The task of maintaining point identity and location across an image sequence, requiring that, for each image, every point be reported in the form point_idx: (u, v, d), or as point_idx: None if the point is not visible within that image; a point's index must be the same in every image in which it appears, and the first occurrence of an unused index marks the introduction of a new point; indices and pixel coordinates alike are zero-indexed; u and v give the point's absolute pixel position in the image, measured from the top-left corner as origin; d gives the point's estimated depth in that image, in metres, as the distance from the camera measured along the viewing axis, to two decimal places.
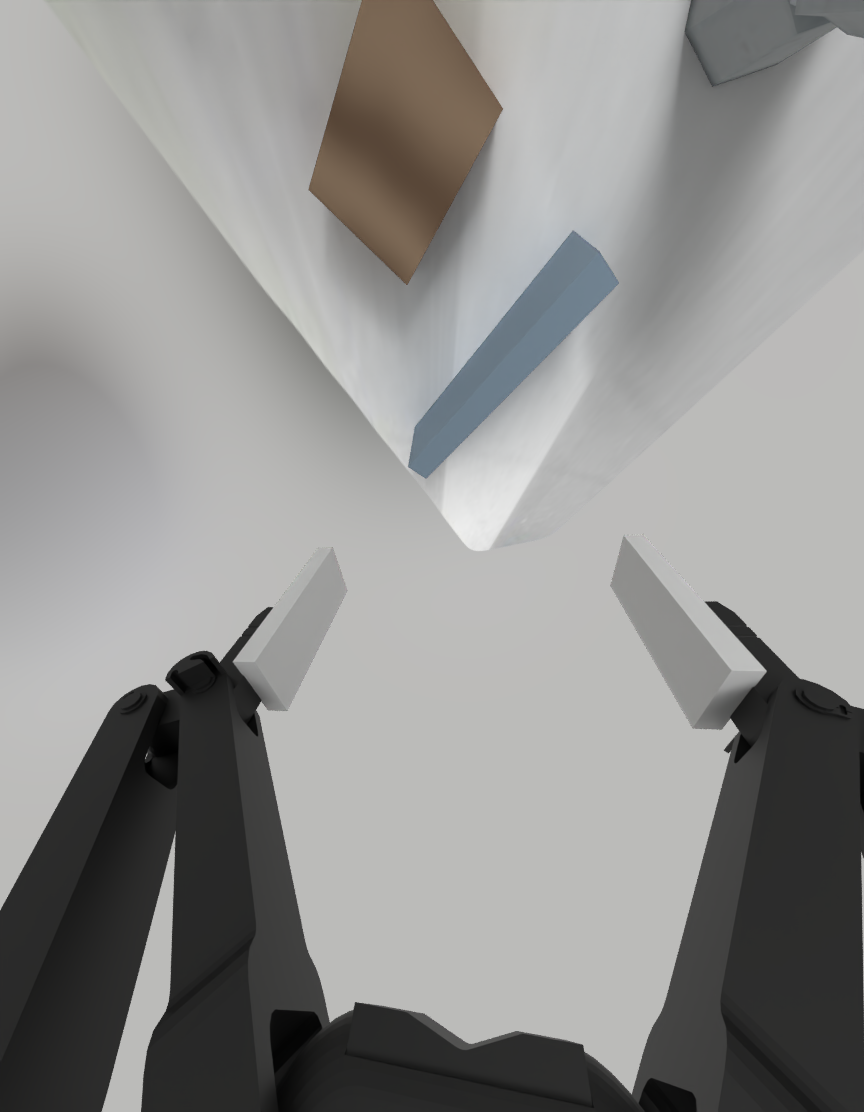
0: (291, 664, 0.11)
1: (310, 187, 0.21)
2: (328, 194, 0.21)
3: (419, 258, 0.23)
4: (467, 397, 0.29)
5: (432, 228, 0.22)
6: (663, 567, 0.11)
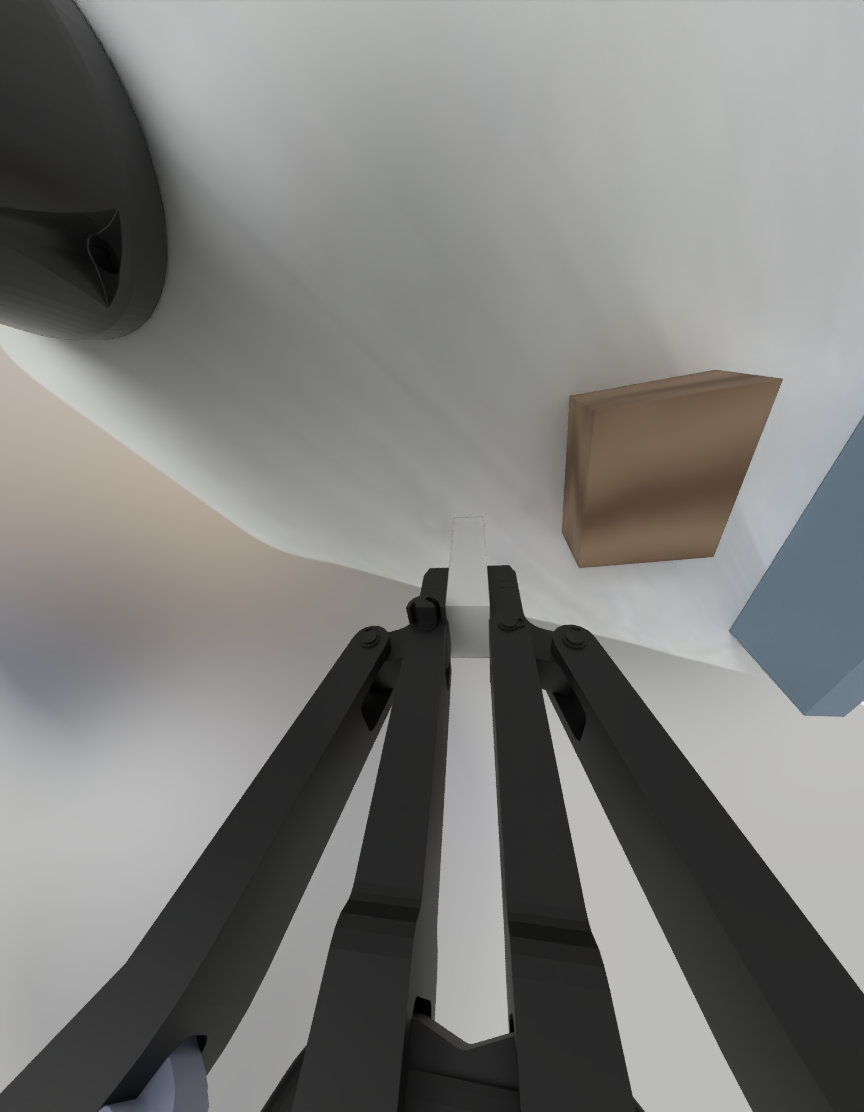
0: None
1: (580, 565, 0.21)
2: (598, 559, 0.21)
3: (720, 531, 0.19)
4: None
5: (727, 504, 0.18)
6: (478, 540, 0.14)
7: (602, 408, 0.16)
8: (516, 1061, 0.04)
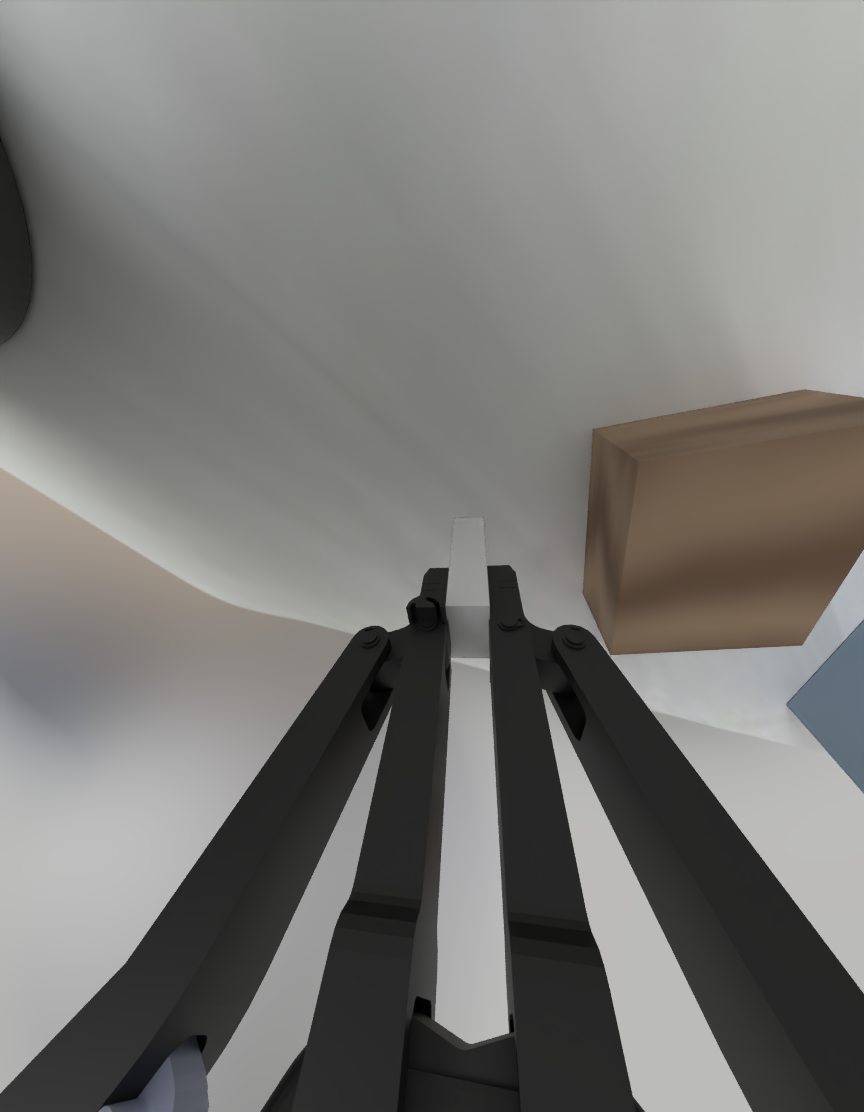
0: None
1: (612, 652, 0.16)
2: (637, 645, 0.15)
3: (817, 616, 0.13)
4: None
5: (831, 583, 0.12)
6: (478, 540, 0.14)
7: (650, 458, 0.10)
8: (516, 1061, 0.04)
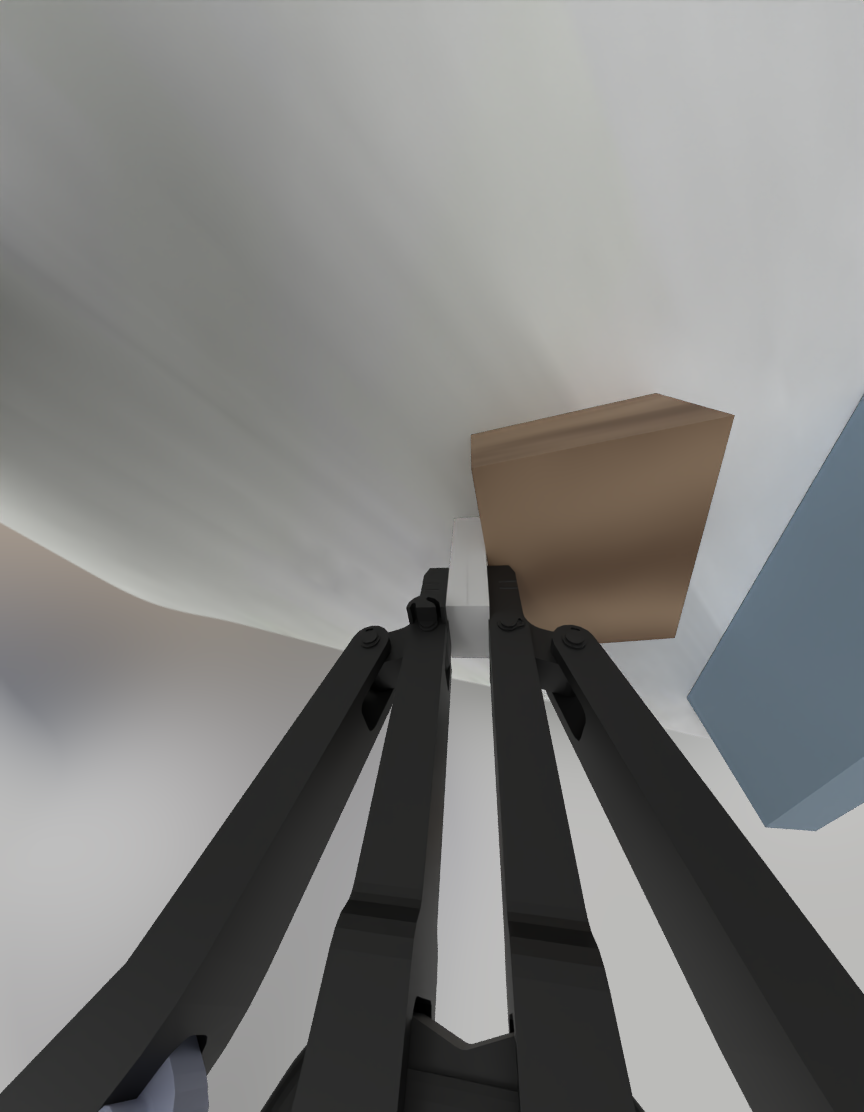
0: None
1: None
2: None
3: (679, 609, 0.14)
4: (859, 734, 0.13)
5: (681, 578, 0.13)
6: (477, 540, 0.14)
7: (482, 464, 0.11)
8: (516, 1061, 0.04)
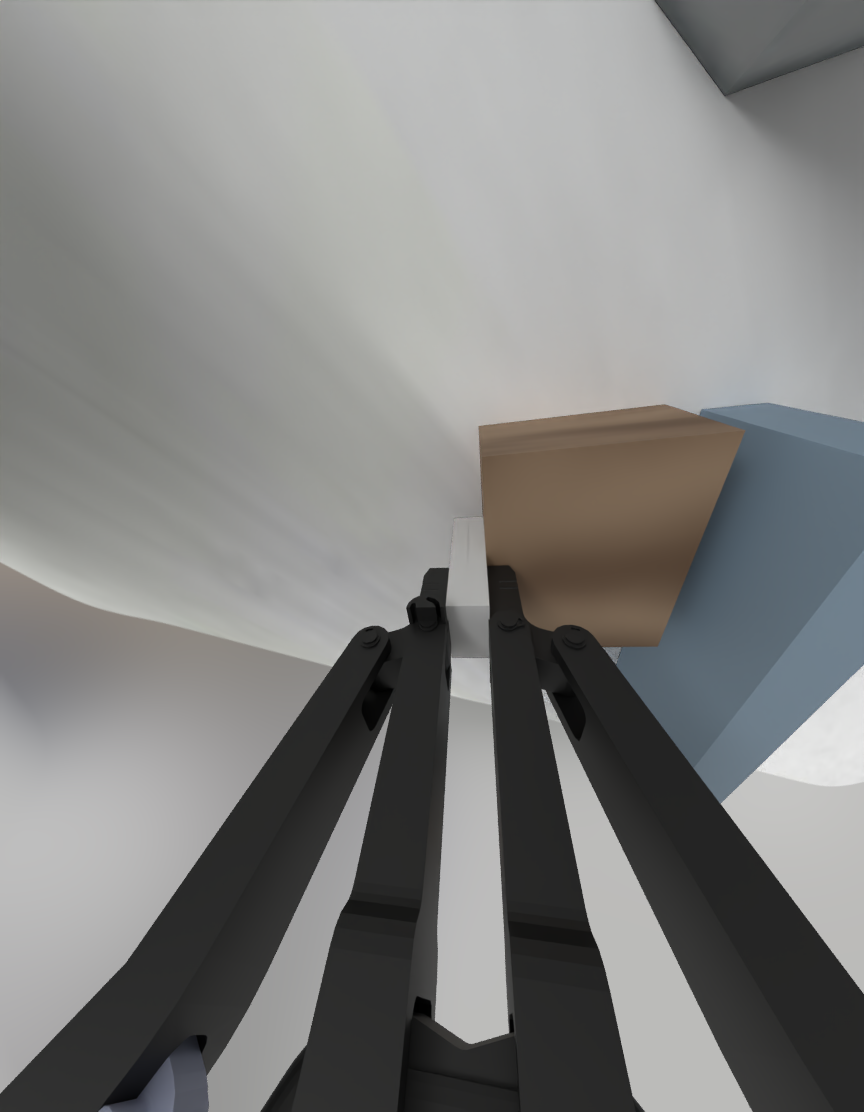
0: None
1: None
2: None
3: (665, 619, 0.14)
4: (701, 734, 0.14)
5: (672, 588, 0.13)
6: (477, 540, 0.14)
7: (493, 454, 0.11)
8: (516, 1061, 0.04)
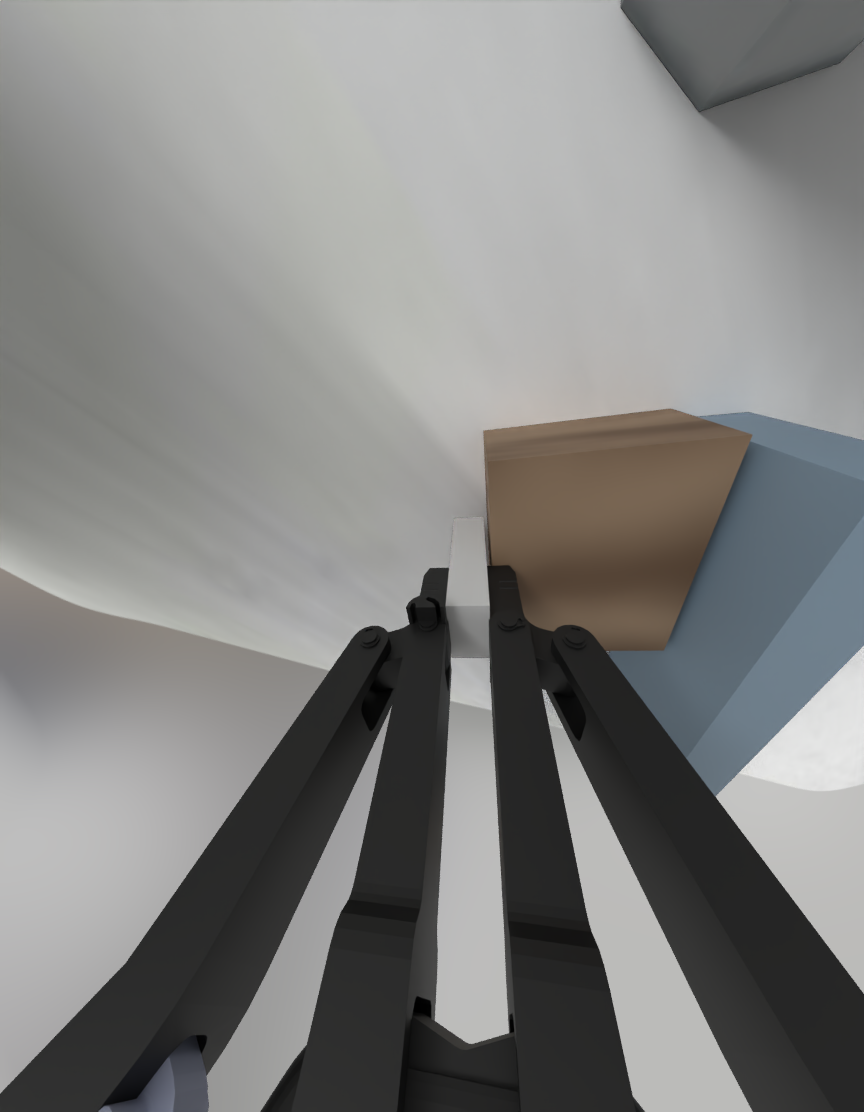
0: None
1: None
2: None
3: (672, 623, 0.14)
4: (682, 739, 0.14)
5: (679, 592, 0.13)
6: (478, 540, 0.14)
7: (499, 458, 0.11)
8: (516, 1061, 0.04)
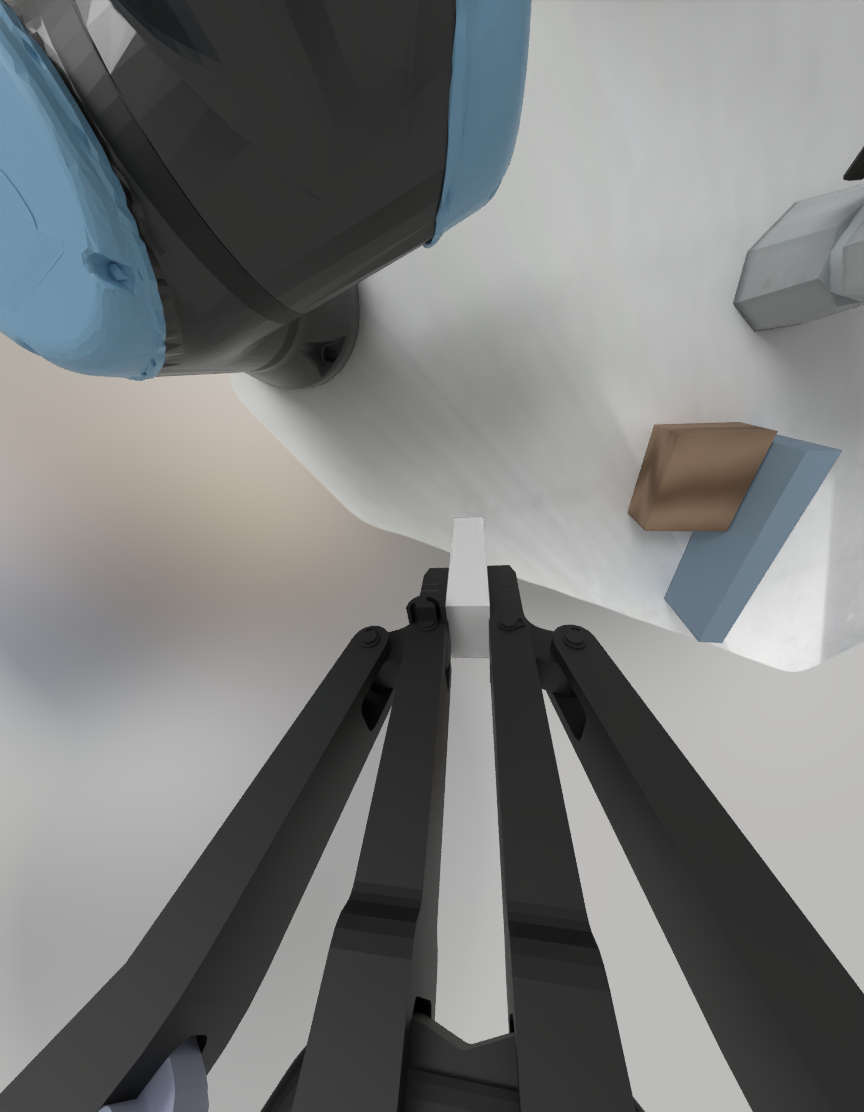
0: None
1: (646, 529, 0.34)
2: (658, 525, 0.33)
3: (733, 515, 0.32)
4: (731, 572, 0.32)
5: (739, 498, 0.31)
6: (478, 540, 0.14)
7: (682, 433, 0.29)
8: (516, 1061, 0.04)
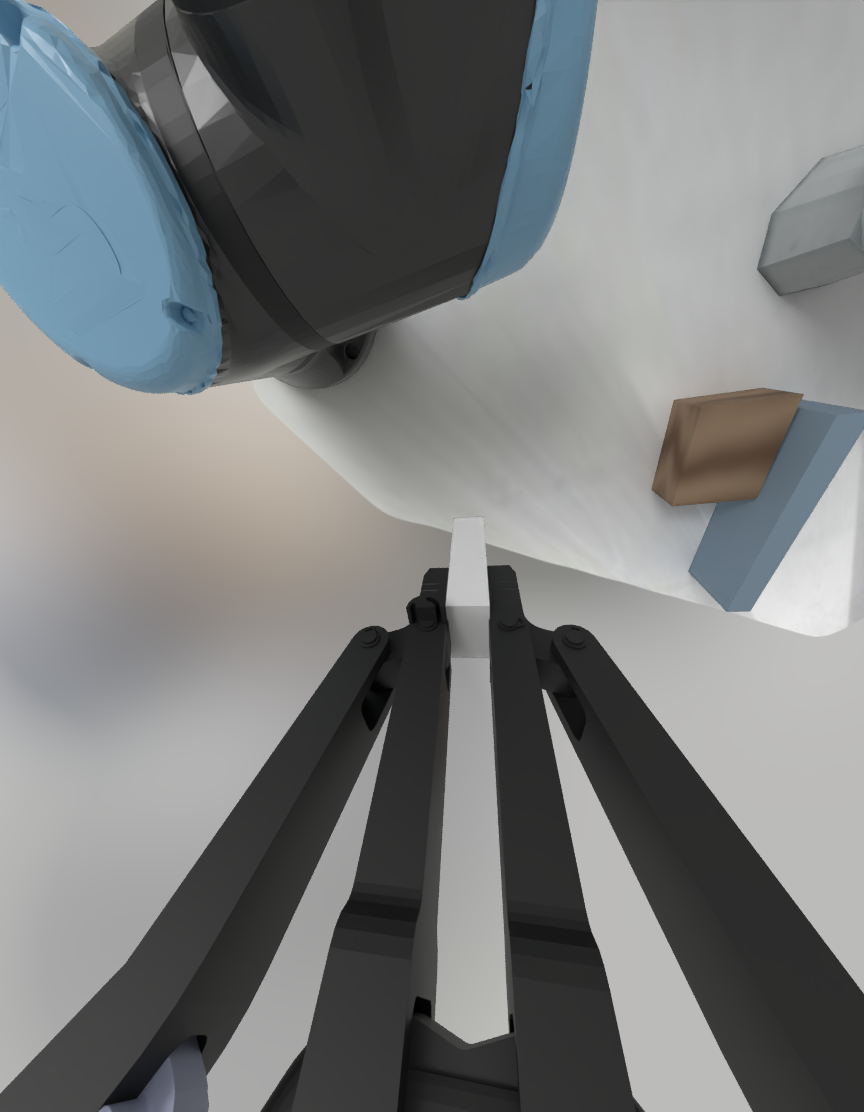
0: None
1: (673, 504, 0.34)
2: (685, 500, 0.34)
3: (762, 482, 0.32)
4: (759, 541, 0.33)
5: (768, 464, 0.31)
6: (478, 540, 0.14)
7: (705, 406, 0.29)
8: (516, 1061, 0.04)
